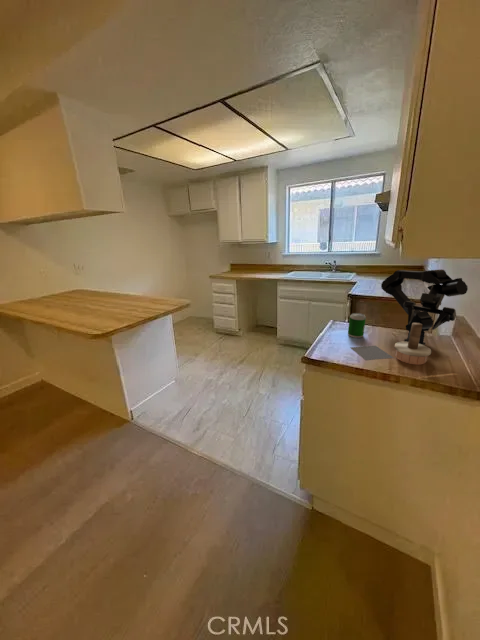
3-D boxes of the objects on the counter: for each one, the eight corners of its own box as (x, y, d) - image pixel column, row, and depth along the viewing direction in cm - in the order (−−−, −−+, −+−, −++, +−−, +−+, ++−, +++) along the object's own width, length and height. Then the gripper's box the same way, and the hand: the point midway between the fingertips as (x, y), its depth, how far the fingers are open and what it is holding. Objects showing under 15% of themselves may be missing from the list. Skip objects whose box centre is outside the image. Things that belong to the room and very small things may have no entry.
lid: (387, 344, 117) (391, 320, 114) (414, 342, 119) (419, 318, 115) (409, 357, 105) (414, 330, 101) (438, 355, 106) (445, 328, 103)
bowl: (389, 354, 118) (391, 345, 116) (412, 352, 119) (414, 343, 118) (407, 366, 107) (409, 356, 106) (432, 364, 109) (434, 354, 107)
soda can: (361, 340, 134) (364, 317, 130) (345, 337, 138) (348, 315, 134) (364, 335, 139) (367, 314, 135) (350, 332, 144) (352, 311, 140)
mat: (349, 348, 125) (349, 347, 125) (375, 346, 126) (375, 345, 126) (365, 361, 112) (365, 360, 112) (393, 359, 114) (393, 357, 114)
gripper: (408, 283, 117) (393, 311, 115) (460, 289, 103) (444, 321, 100) (412, 297, 124) (398, 324, 122) (462, 304, 110) (447, 336, 107)
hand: (420, 326), depth 113 cm, fingers open, 9 cm apart
